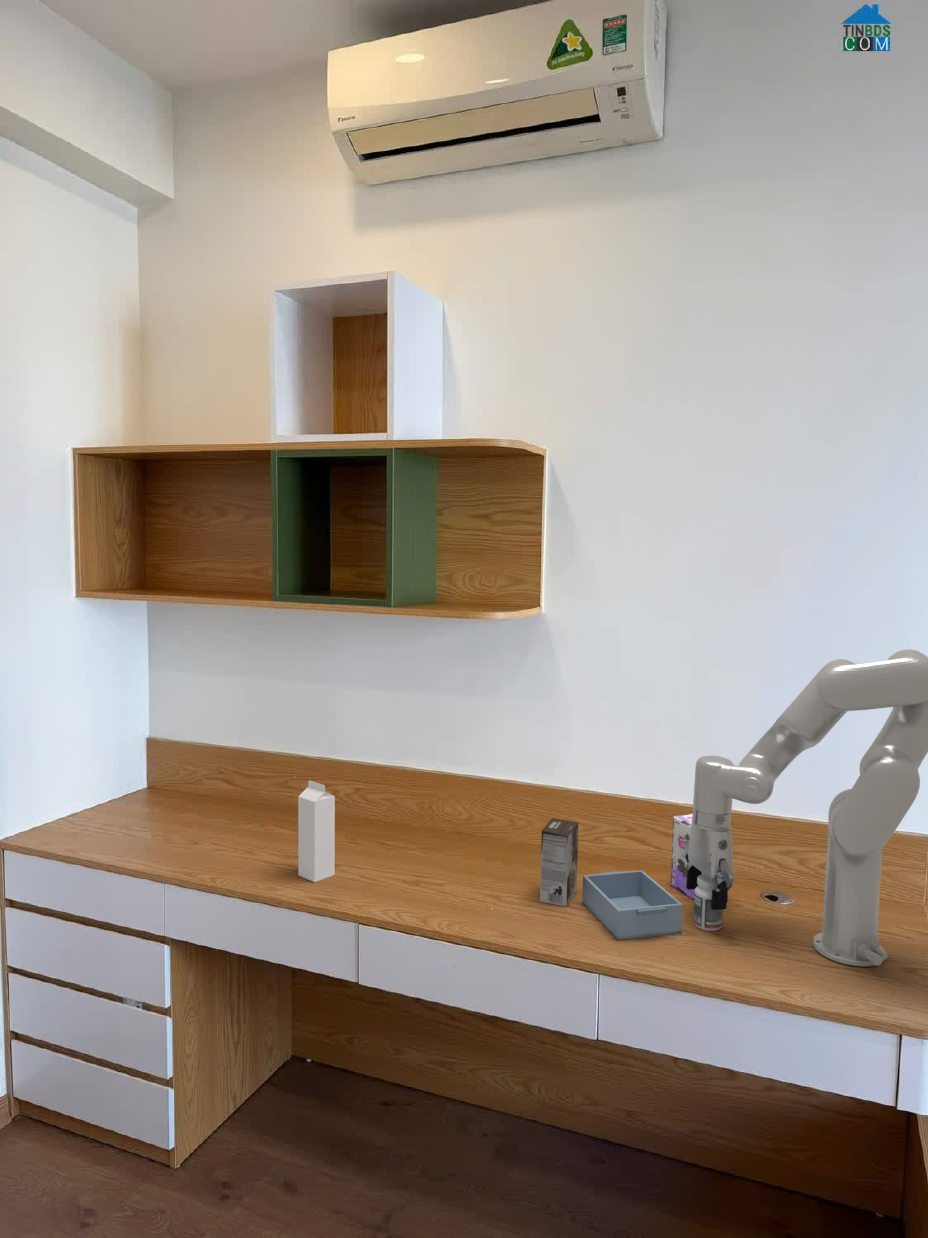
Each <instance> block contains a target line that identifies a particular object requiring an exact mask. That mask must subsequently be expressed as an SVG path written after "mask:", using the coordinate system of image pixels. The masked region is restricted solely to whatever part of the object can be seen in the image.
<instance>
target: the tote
mask: <svg viewBox="0 0 928 1238" xmlns="http://www.w3.org/2000/svg"><path fill="white" fill-rule="evenodd" d="M581 894H582V895H581V897H582V898H581V901H582V904H583V905H584V906H585V907H586V908H587V909H588V911H589V912H591V914H592V915H593V916H594V917H595V918H596V919H597V920H598V921H599V922H600V923H601V924H602V926H603V927H604V928H605V929H606V930H607V931H608V932H609V933H610V934H611V935H612V936H613V937H614V938H615V939H616V941H623V940H630V939H631V940H632V939H642V938H650V937H659V936H668V935H677V934H682V933H683V931H682V930H683V929H682V928H683V912H684V910H683V907H684V905H683V903H682V902H680V901H679V900H678V899H677V898H676V897H675V896H674V895H672V894H671V893H670V892H668V891H667V890H666V889H665V888H664V887H663V886H661V885H660V884H659V883H658V882H656V881H655V880H654V879H653V878H651V876H649V874H647V873H646V872H645V871H644V870H629V871H624V870H618V871H617V870H616V871H615V870H613V871H607V872H606V871H605V872H603V871H602V872H598V873H597V874H587V875H582V893H581Z"/></svg>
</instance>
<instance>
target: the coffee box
mask: <svg viewBox="0 0 928 1238" xmlns="http://www.w3.org/2000/svg"><path fill="white" fill-rule="evenodd" d="M540 843H541V846H540V847H541V848H540V881H539V884H540V886H539V902H540V903H545V904H551V905H555V906H556V905H558V906H561V907H568V905H569V904H570V902H571V901H572V899H573V897H574V895H575V894H576V893H577V892H578V855H579V851H578V850H579V846H578V845H579V822H578V821H570V820H567V819H562V818H555V817H554V818H553V817H552V818H551V819H550V820H549V821H548V822H547V824H545V826H543V829H541V842H540Z"/></svg>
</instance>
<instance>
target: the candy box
mask: <svg viewBox="0 0 928 1238" xmlns="http://www.w3.org/2000/svg"><path fill="white" fill-rule="evenodd" d="M692 814H693V813H689V814H682V815H675V816H672V817H673V819H672V820H673V821H672V844H671V845H672V846H671V847H672V848H671V871H670V872H671V873H670V885H671V887H674V888H675V889H676V890H678V891H679V892H682V893H683V894H684V895H685V896H687V897H688V898H690V899H692V901H694V891H695V889H691V890H688V889H687V888H686V883H687V868H686V865H687V861H686V858H685V856H686V852H685V844H688V843H689V838H690V831H691V826H692ZM719 874H720V873H715V875H719ZM702 875H704V873H702ZM721 882H722V879H721ZM728 898H729V894H728V895H727V906H728Z"/></svg>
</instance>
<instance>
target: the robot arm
mask: <svg viewBox="0 0 928 1238" xmlns="http://www.w3.org/2000/svg"><path fill="white" fill-rule="evenodd" d="M885 708H892V709H891V712H890V714H889V715H888V717H887V719H886V721H885V723H884V724H883V726H882V728H881V729H880V731H879V733H878V734H877V735H876V738H875V739H874V740H873V742H872V743H871V744H870V747H869V748H868V749H867V751H866V752H864V755H863V756H862V758H861V759H860V762H859V776H858V778H857V779H856V781H855V783H854V784H853V786H852V788H851V789H845V790H843V791H841V792H839V793H838V794H837V795H835V797H834V798H833V799H832V801H831V803H830V805H829V807H828V808H829V809H828V819H827V821H828V826H827V828H828V829H827V851H826V865H825V881H824V882H825V883H824V900H823V915H822V916H823V917H822V932H819V933H817V934H815V935H814V936H813V939H812V940H813V944H812V945H813V947H814V949H815V950H816V951H817V952H818V953H819V954H820V955H822V956H824V958H825V957H826V958H827V959H830V960H832V961H834V962H836V963H839V964H843V965H847V966H848V965H849V966H854V967H864V968H865V967H874V966H877V967H878V966H881V964H883V962H884V961H885V960H887V959H888V958H889V954H888V953H887V952H886V951H885V950H884V948H883V946H881V938H880V937H878V924H879V923H878V921H879V908H880V894H881V893H880V891H881V877H882V869H883V868H882V866H883V865H882V863H883V848H884V847H885V846H886V844H887V843H888V841H890V839H891V837H892V836H893V835H894V833H895V831H896V830H897V828H898V827H899V826H900V824H901V822H902V821H903V819H904V818H905V816H906V814H907V813H908V811H909V810H910V808H912V805H913V804H914V802H915V800H916V799H917V796H918V794H919V790H920V787H921V778H920V773H919V768H920V766H921V765H922V763H923V760H924V759H925V758H926V756H927V754H928V656H927V655H926V654H924V653H922V652H921V651H918V650H914V649H902V650H899V651H896V652H894V653H892V655H890V656H889V658H888V659H884V660H878V661H871V662H861V663H855V662H853V661H851V660H847V659H842V658H841V659H840V658H839V659H838V658H837V659H834V660H831V661H829V662H828V663H826V664H825V665H823V667H821V668H820V670H819V671H818V672H817V673H816V674H815V676H814V677H813V678H812V679H811V680H810V681H809V683H808V684H807V685H806V686H805V687H804V689H802V690H801V692H800V693H799V694H798V695H797V696H796V698H795V699H794V700H793V701H792V702H791V704H789V705H788V706H787V708H785V710H784V711H783V712H782V713H781V714H780V716H779V717H778V718H777V719H776V720H775V722H774V723H773V724H772V725H771V726H770V728H769V729H768V730H767V731H766V732H765V733H764V734H763V735H762V736H761V737H760V739H759V740H758V741H757V742H756V743H755V744H754V746H753V747H752V748H750V750H749V751H748V752H747V754H745V756H744V757H743V758H742V760H741V761H740V762H739V764H738V765H734V763H733V762H732V760H730V759H729V758H726V757H723V756H718V755H717V756H716V755H705V756H701V757H699V758H698V759H697V760H696V763H695V769H694V770H695V772H694V786H693V800H692V813H691V814H692V826H691V831H690V838H689V843H688V844H685V852H686V856H685V858H686V861H687V865H686V868H687V883H686V888H687V889H688V890H691V889H695V888H696V887H697V886H698V884H697V877H698V876H699V875H702V873H704V874H705V875H706V876H708V877H709V878H711V879H712V883H713V886H714V889H715V890H712V900H711V909H713V910H721V909H723V910H726V909H727V906H728V905H727V903H728V902H727V895H728V896H729V892H730V889H731V888H732V886H733V882H734V881H735V874H734V872H733V863H734V861H733V859H734V857H733V855H734V854H733V853H734V852H733V848H734V847H733V845H734V844H733V836H732V829H731V823H732V822H731V821H732V819H731V818H732V808H733V807H732V806H733V799H734V800H737V801H740V802H742V803H746V804H751V805H758V804H762V803H765V802H766V801H767V800H769V799H770V798H771V795H772V794H773V789H774V788H775V787H774V786H775V782H776V780H777V779H778V778H779V776H781V774H782V773H783V772H784V771H785V770H786V769H787V768H788V766H789V765H790V764H791V763H793V761H794V760H795V759H796V758H797V757H798V756H799V755H800V754H802V753H803V752H804V751H806V750H808V749H810V748H813V747H815V746H816V745H818V744H819V743H821V741H822V740H823V739H825V737H826V736H827V735H828V734H829V732H830V731H832V729H833V728H834V727H835V726H836V724H837V723H838V722H839V721H840V720H841V719H842V718H843V717H844V715H846V714H847V713H848V712H853V711H868V710H877V709H885ZM715 873H720V874H719V875H715ZM717 879H722V882H721V883H720V884H718V881H717Z"/></svg>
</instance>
